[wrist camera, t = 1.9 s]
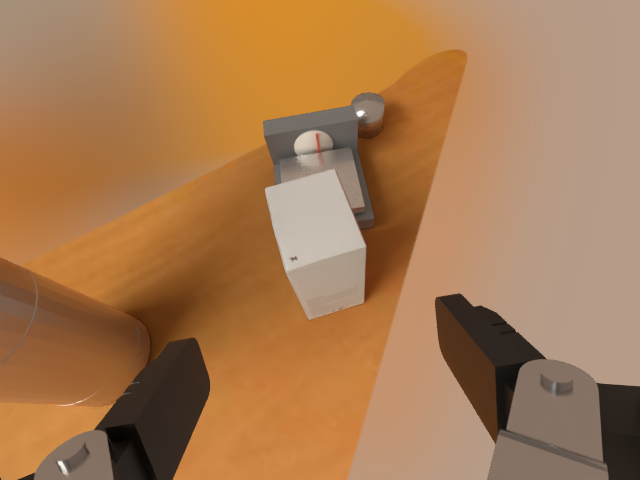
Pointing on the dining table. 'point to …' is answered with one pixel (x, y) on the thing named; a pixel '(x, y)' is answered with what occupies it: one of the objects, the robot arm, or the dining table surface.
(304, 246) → the small box
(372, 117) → the cylinder
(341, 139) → the scale base
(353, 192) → the platter
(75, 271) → the dining table surface
